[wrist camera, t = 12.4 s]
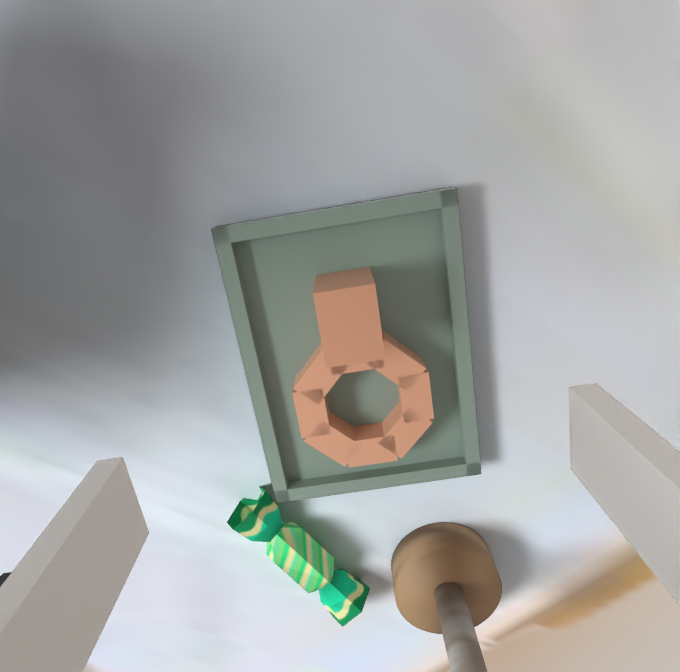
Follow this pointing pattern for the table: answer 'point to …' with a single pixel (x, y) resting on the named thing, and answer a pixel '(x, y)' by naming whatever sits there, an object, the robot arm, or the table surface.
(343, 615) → the candy
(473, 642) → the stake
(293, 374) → the tray
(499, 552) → the table surface
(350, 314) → the ring
